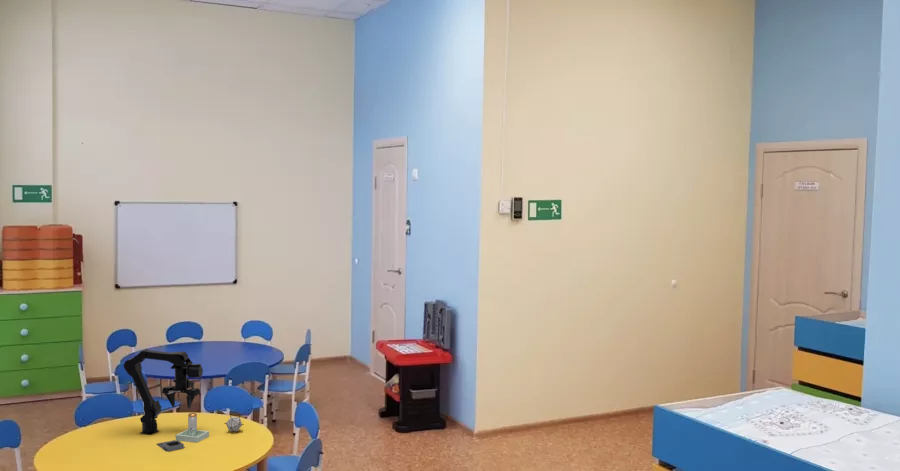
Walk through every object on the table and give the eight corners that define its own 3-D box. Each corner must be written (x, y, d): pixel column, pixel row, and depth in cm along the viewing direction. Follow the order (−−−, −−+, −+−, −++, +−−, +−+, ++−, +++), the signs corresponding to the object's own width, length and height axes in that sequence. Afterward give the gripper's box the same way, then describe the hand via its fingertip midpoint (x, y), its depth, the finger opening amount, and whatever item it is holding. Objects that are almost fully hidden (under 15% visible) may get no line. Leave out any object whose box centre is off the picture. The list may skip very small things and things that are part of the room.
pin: (187, 439, 371) (187, 415, 370) (188, 436, 375) (189, 413, 374) (195, 439, 372) (196, 415, 371) (197, 436, 375) (197, 412, 375)
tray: (175, 442, 370) (175, 435, 370) (188, 435, 380) (188, 429, 379) (197, 444, 367) (197, 437, 367) (209, 438, 376) (209, 431, 376)
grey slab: (155, 445, 364) (155, 439, 364) (174, 442, 370) (174, 436, 370) (166, 454, 353) (166, 447, 353) (185, 450, 359) (185, 443, 359)
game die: (237, 437, 389) (249, 421, 391) (231, 437, 381) (243, 420, 383) (224, 427, 391) (236, 411, 393) (218, 426, 383) (230, 409, 385)
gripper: (206, 374, 388) (206, 405, 389) (175, 372, 393) (175, 401, 394) (193, 380, 377) (193, 410, 378) (161, 377, 382) (161, 407, 383)
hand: (181, 407), depth 384 cm, fingers open, 9 cm apart
